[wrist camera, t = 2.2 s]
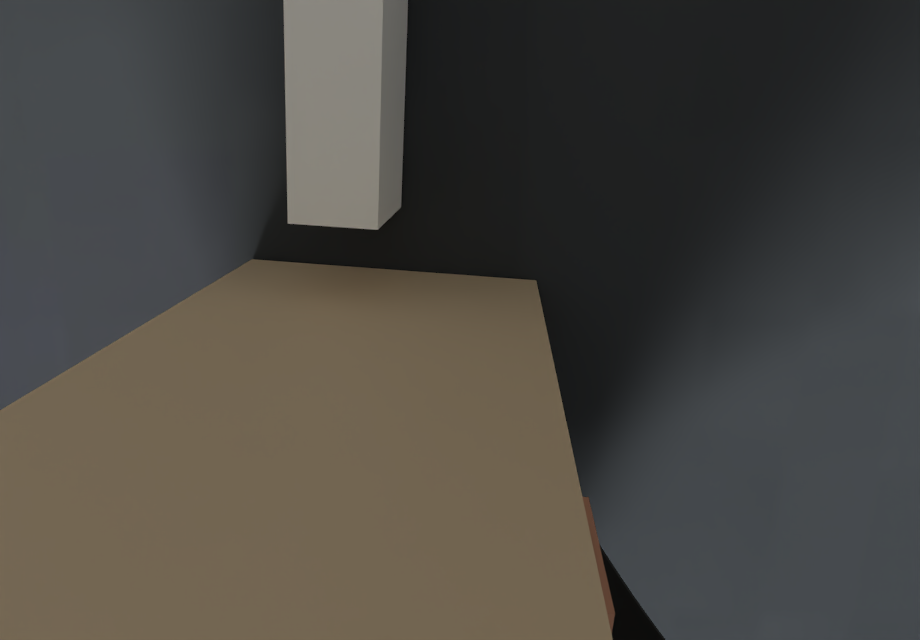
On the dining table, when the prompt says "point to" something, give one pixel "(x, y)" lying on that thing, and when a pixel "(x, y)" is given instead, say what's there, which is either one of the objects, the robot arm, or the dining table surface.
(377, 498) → the box
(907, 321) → the dining table surface
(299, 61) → the white letter f
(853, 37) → the dining table surface
